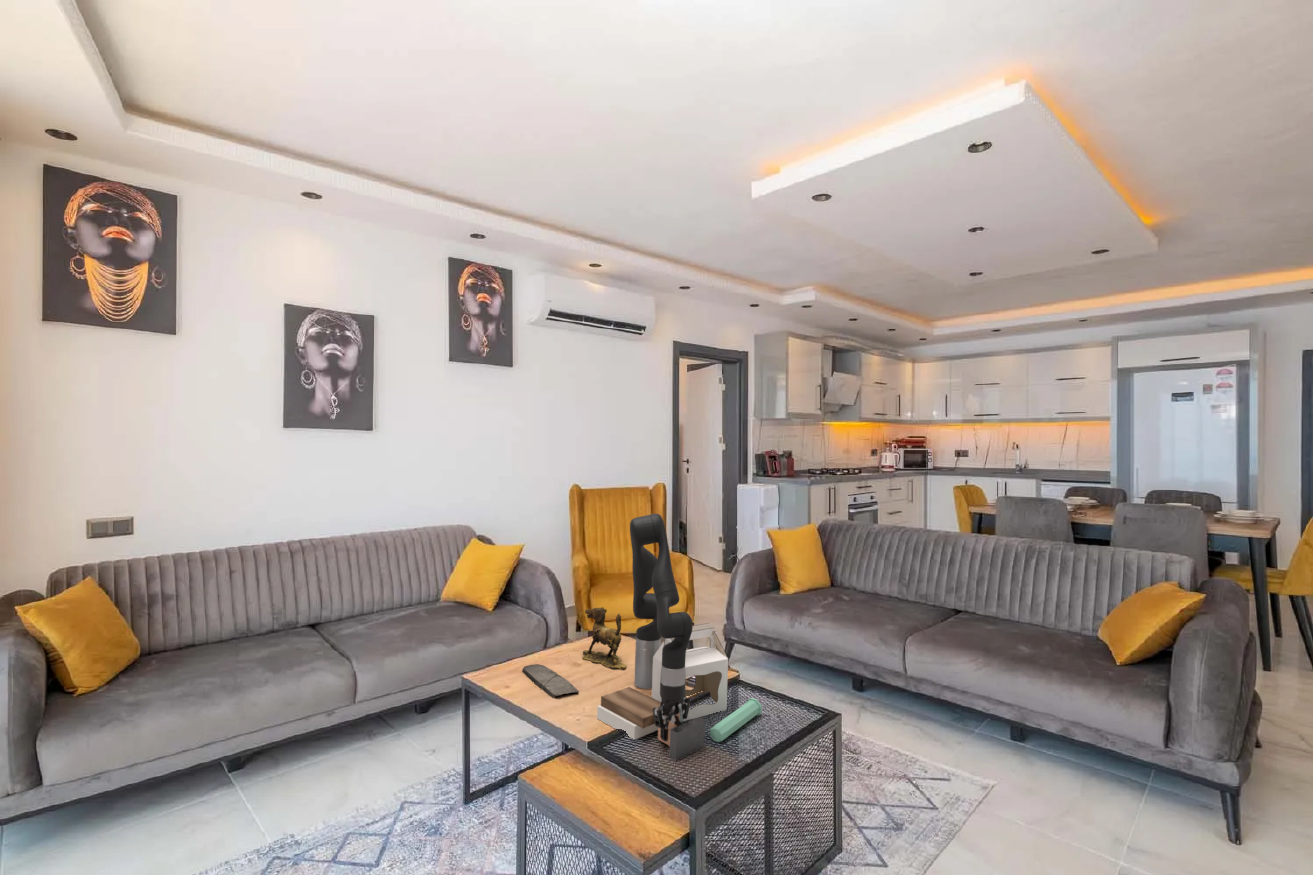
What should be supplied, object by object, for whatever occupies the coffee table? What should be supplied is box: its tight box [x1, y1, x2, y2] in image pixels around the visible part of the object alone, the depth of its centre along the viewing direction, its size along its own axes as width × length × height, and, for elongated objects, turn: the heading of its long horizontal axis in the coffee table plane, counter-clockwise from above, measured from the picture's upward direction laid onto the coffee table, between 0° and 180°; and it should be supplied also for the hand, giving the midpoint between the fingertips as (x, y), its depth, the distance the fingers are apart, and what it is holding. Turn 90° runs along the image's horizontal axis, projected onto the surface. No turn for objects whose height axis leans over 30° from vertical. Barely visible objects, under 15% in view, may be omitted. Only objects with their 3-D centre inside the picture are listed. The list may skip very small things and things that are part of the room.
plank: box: [600, 686, 668, 728], centre depth 197 cm, size 12×20×3 cm, turn 44°
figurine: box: [582, 606, 627, 671], centre depth 251 cm, size 13×25×20 cm, turn 42°
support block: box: [657, 722, 677, 747], centre depth 186 cm, size 5×6×4 cm
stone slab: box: [522, 663, 580, 699], centre depth 228 cm, size 10×3×30 cm
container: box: [709, 697, 763, 743], centre depth 197 cm, size 6×6×25 cm
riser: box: [596, 704, 666, 740], centre depth 198 cm, size 14×18×4 cm
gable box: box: [651, 622, 729, 723], centre depth 209 cm, size 22×13×28 cm, turn 122°
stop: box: [669, 717, 706, 762], centre depth 181 cm, size 12×2×8 cm, turn 134°
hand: (670, 736), depth 186 cm, fingers closed on support block, 5 cm apart
